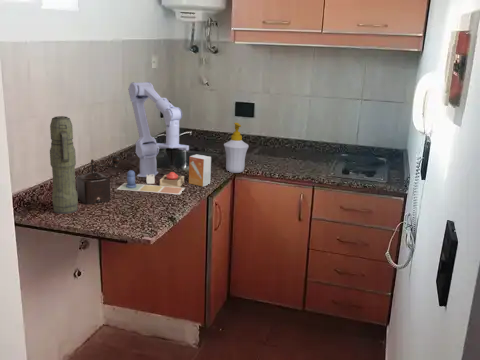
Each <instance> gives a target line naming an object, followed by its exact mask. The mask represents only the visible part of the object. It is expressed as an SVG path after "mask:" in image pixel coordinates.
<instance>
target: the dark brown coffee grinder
mask: <svg viewBox="0 0 480 360" xmlns="http://www.w3.org/2000/svg"><path fill="white" fill-rule="evenodd" d="M110 159H111V162H112V164H111V165H108V164H101V163H99V164H98V163H95V160H94V159H90V166H91V172H87V173H86V174H81V175H76V176H75V179H76V191H77V195H78V200H79V201H80V202H82V203H83V204H84V205H86V206H87V205H93V204H100V203H105V202H108V201H109V202H110V201H111V181H110V177H108V176H106V175H105V174H103V173H101V172H97V171H95V167H100V168H101V167H103V168H111V169H117V168H119V164H120V163H121V162H122V158H121V157H120V156H118V155H113V156H112V157H111V158H110Z"/></svg>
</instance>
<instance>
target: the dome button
mask: <svg viewBox="0 0 480 360" xmlns="http://www.w3.org/2000/svg"><path fill="white" fill-rule="evenodd" d="M165 175H166V179H168V180H176V179H178V176H179V175H178V173H175V171H170V172H169V173H167V174H165Z"/></svg>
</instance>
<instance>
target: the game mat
mask: <svg viewBox="0 0 480 360" xmlns="http://www.w3.org/2000/svg"><path fill="white" fill-rule="evenodd" d="M126 184H127V182H124V183H122V184H121V185H120V186H119V187H118V188H116V190H119V191H131V192H132V191H133V192H145V193H157V194H168V195H169V194H170V195H177V196H180V195H182V193H183V192H184V190H185V189H186V187H182V186H181V187H168V186H160V185H153V184H142V183H135V184H136V188H127V187H126ZM182 191H183V192H182Z"/></svg>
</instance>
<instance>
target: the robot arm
mask: <svg viewBox="0 0 480 360" xmlns="http://www.w3.org/2000/svg"><path fill="white" fill-rule="evenodd" d="M128 94H129V99H130V102H131V103H132V108H133V109H132V110H133V114H134V119H135V123H136V128H137V132H138V136H139V138H138V139H137V141H136V142H135V154H136V156H137V157H138V158H139V173H138V174H137V175H136V177H138V178H139V177H141V178H146V175H148V174H154V176H155V177H156V176H157V175H158V174H159V171H158V170H157V169H158V168H157V167H158V165H157V155H158V154H159V152H160V149H165V153H166V155H167V158H168V161H169V166H175V162H176V158H177V156H178V154H179V152H180V150H182V151H189V150H190V145H187V144H181V143H180V121H181V120H182V118H183V110H182V109H181V108H180V107H178V106H174V104H172V103H171V102H170V101H169V100H168V98H167V97H161V96H160V94H159V93H158V92H157V91H156V90H155V88H154V85H153V84H152V83H151V81H144V82H143V81H142V82H139V81H138V82H134V81H133V82H132V81H131V82H130V84H129V87H128ZM148 99H150V100H151V101H153V102H154V103H155V108H156V109H158V110H159V112H160V113H161V114H162V115H163V119H164V124H165V125H166V126H165V127H166V128H165V131H166V133H165V143H163V142H162V143H161V142H157V140H156V138H155V137H153V136H152V135H151V131H150V126H149V122H148V117H147V114H146V113H147V112H146V108H145V102H146V101H148Z"/></svg>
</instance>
